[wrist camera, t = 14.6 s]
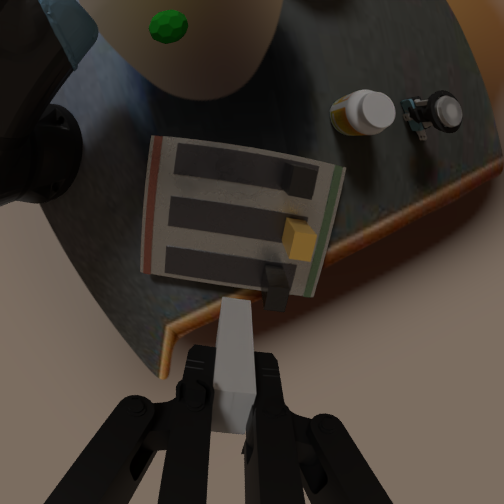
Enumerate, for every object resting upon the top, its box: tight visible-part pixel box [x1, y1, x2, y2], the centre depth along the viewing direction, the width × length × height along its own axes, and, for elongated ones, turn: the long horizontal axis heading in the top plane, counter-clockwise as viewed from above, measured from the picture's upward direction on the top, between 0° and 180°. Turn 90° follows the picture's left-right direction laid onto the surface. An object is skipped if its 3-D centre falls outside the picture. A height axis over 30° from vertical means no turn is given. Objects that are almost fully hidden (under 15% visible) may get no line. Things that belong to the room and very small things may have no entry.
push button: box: [401, 90, 462, 140], centre depth 29 cm, size 7×5×10 cm
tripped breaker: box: [282, 217, 317, 262], centre depth 33 cm, size 2×3×6 cm
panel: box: [140, 135, 346, 312], centre depth 34 cm, size 24×18×10 cm
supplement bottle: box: [330, 90, 395, 136], centre depth 30 cm, size 5×5×10 cm
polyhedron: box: [149, 10, 188, 44], centre depth 27 cm, size 5×5×5 cm
